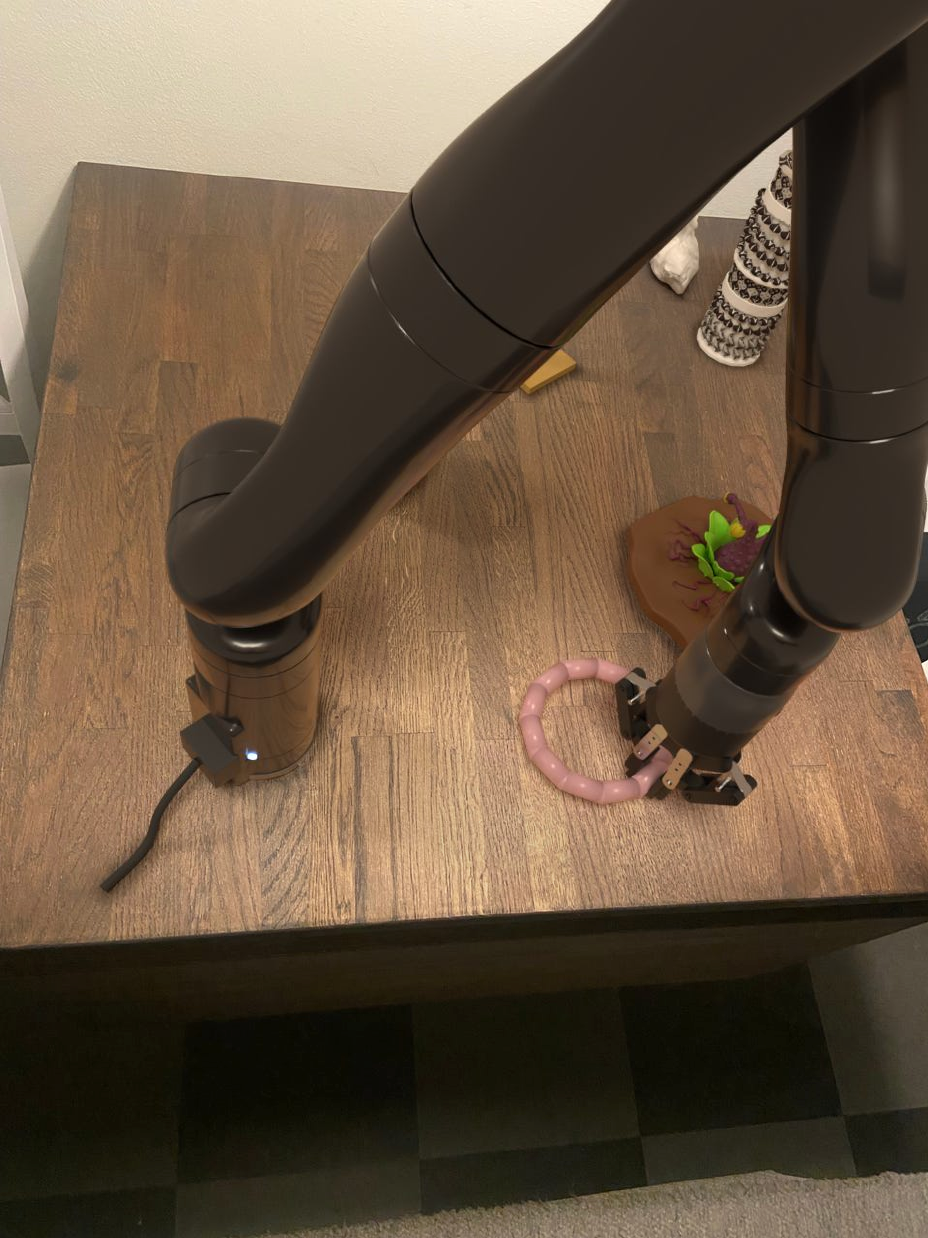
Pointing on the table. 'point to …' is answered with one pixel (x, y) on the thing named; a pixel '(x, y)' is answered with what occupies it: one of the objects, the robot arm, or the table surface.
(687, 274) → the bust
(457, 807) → the table surface
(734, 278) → the decorative candle
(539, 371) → the stand
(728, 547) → the plant
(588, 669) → the ring
